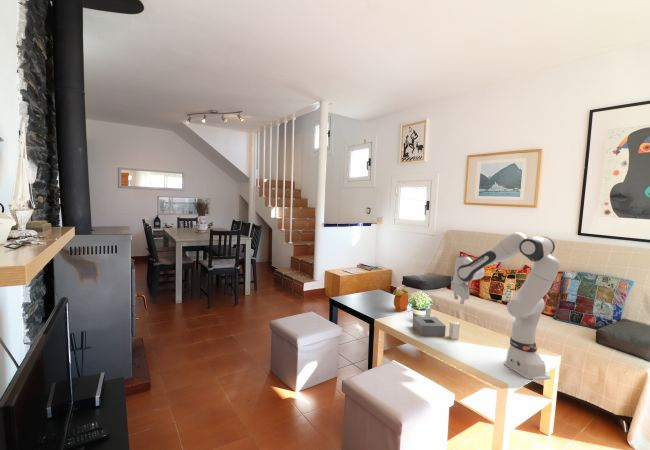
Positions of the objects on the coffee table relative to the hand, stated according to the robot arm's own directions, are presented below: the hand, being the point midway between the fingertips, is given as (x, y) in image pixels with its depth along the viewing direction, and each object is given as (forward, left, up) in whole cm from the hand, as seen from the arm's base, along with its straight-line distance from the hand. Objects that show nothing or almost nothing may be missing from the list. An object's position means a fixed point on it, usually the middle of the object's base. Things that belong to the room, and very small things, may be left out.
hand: (458, 301), depth 211 cm
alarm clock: (+51, +21, -24) cm, 60 cm away
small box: (+29, +11, -24) cm, 39 cm away
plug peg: (0, +2, -24) cm, 24 cm away
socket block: (+10, +15, -24) cm, 30 cm away
